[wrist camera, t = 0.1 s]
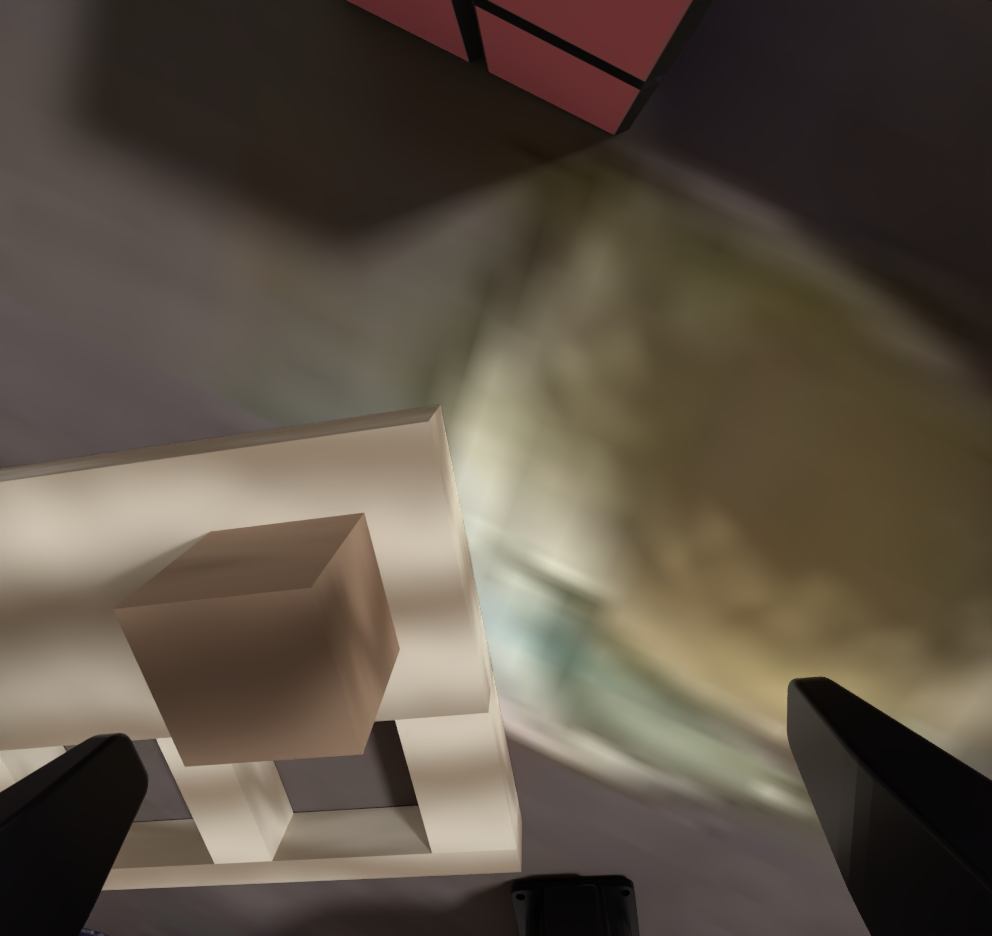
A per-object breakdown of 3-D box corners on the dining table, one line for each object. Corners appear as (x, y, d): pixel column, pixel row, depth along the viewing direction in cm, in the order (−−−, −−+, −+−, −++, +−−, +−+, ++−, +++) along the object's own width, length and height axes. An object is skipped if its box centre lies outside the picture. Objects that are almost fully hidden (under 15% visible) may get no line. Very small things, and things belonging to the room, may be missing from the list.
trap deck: (522, 821, 28) (520, 919, 23) (36, 847, 31) (-43, 938, 26) (440, 404, 20) (416, 438, 16) (-180, 494, 24) (-335, 541, 19)
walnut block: (399, 649, 21) (362, 754, 17) (258, 662, 22) (184, 766, 17) (364, 512, 19) (310, 587, 15) (210, 531, 20) (112, 609, 15)
